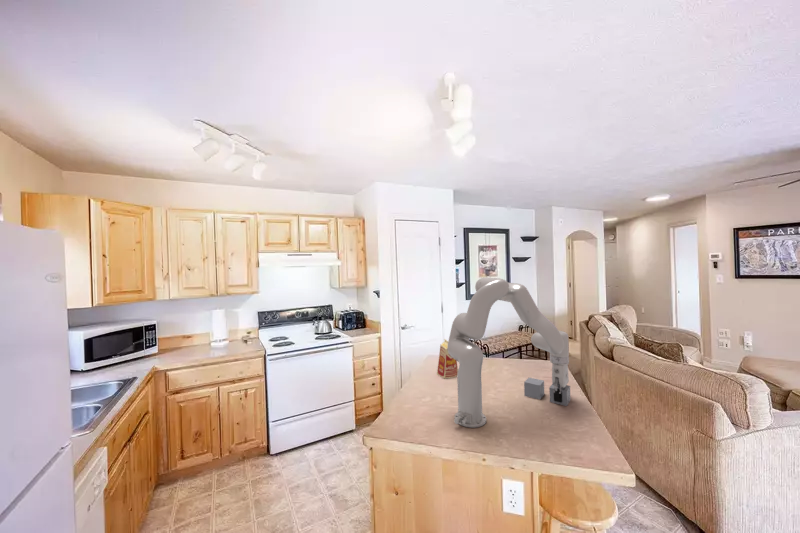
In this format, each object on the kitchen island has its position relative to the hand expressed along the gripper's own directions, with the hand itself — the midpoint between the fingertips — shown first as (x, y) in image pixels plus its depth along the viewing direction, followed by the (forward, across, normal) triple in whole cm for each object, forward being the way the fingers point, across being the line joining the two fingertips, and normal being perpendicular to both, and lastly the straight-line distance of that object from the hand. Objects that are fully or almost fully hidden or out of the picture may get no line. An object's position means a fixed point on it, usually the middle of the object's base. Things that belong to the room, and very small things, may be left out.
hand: (560, 398), depth 143 cm
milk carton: (+2, -1, +57) cm, 57 cm away
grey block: (+1, 0, 0) cm, 1 cm away
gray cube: (+1, 0, +11) cm, 11 cm away
